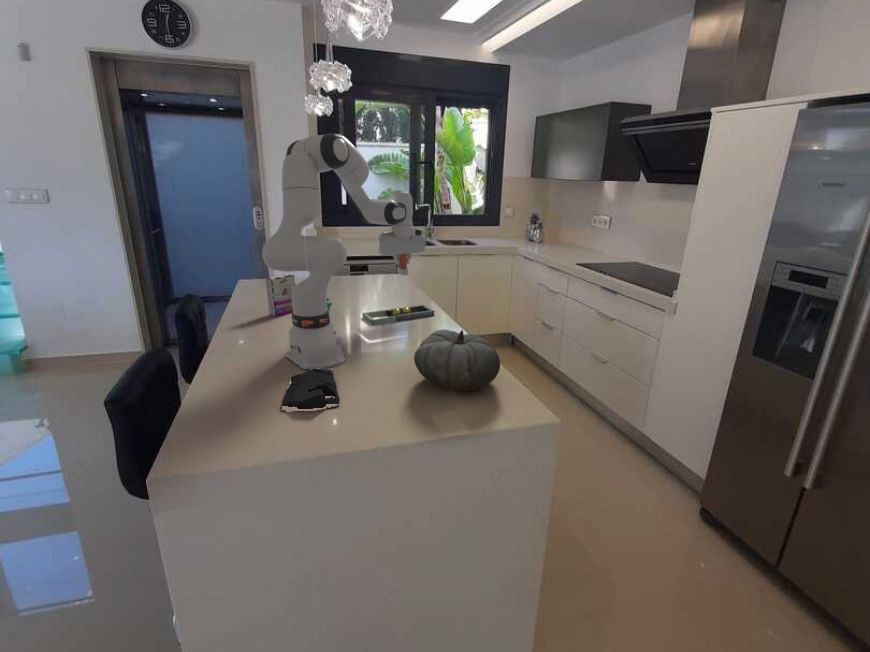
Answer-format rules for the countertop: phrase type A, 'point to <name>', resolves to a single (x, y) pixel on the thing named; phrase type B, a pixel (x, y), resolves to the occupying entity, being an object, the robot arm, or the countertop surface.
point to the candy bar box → (280, 293)
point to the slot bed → (412, 313)
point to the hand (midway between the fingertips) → (402, 264)
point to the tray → (372, 321)
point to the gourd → (457, 361)
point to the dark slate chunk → (311, 390)
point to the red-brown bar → (402, 264)
